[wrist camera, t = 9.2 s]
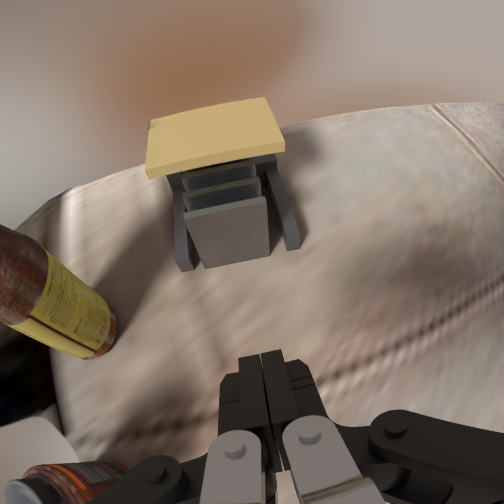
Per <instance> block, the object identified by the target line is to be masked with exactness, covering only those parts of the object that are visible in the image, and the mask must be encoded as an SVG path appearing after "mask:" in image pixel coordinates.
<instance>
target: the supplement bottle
mask: <svg viewBox="0 0 504 504" xmlns="http://www.w3.org/2000/svg"><path fill="white" fill-rule="evenodd" d="M128 472H129V470H127V469H126V468H124V467H123V466H121V465H119V464H117V463H114V462H111V461H91V462H82V463H66V464H65V463H64V464H46V465H45V464H43V465H37V466H34V467H31V468H29V469H28V470H27V471H26V472H25V474H24V475H23V478H22V479H16V480H10V481H9V482H7V484H6V485H5V487H4V492H3V495H4V503H5V504H85V503H87V502H88V501H89V500H91V499H92V498H94V497H95V496H97V495H98V494H99V493H101V492H102V491H104V490H105V489H106V488H108V487H109V486H110V485H112V484H113V483H114V482H116V481H117V480H118V479H120V478H121V477H122V476H124V475H125V474H126V473H128Z"/></svg>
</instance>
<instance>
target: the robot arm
mask: <svg viewBox="0 0 504 504" xmlns="http://www.w3.org/2000/svg"><path fill="white" fill-rule="evenodd" d="M261 359H262V363H261ZM261 359H260V356H259V354H256V355H251V356H246V357H241V358H239V359H238V362H239V372H236V373H231V374H226V376H225V377H224V379H223V380H222V382H221V384H220V396H219V404H220V405H219V419H218V437H217V438H215V439H214V440H213V442H212V443H211V444H210V446H209V449H208V452H207V453H206V454H205V455H203V456H201V457H198V458H196V459H193V460H190V461H187V462H184V463H181V464H179V462H178V461H177V460H176V459H174V458H172V457H170V456H165V455H158V456H153V457H149V458H147V459H145V460H143V461H142V462H141V463H139V464H138V465H137V466H135V467H134V468H133V469H132V470H130V471H129V472H128V473H126V474H125V475H124V476H122V477H121V478H120V479H118V480H117V481H116V482H114V483H113V484H112V485H110V486H109V487H108V488H106V489H105V490H104V491H102V492H101V493H99V494H98V495H97V496H95V497H94V498H92V499H91V500H89V501H88V502H87V503H85V504H278V493H277V481H276V475H275V473H277V472H282V465H281V459H282V463H283V466H284V470H285V471H287V470H290V471H291V475H292V479H293V483H294V487H295V490H296V494H297V497H298V500H299V503H300V504H386V503H385V502H388V503H390V504H504V433H500V432H495V431H489V430H484V429H479V428H475V427H470V426H465V425H461V424H457V423H452V422H448V421H444V420H440V419H436V418H432V417H429V416H425V415H421V414H418V413H414V412H410V411H407V410H391V411H387V412H385V413H382V414H380V415H379V416H377V417H376V418H375V419H374V420H373V421H372V423H371V425H370V426H362V427H345V426H341V425H338V424H336V423H334V422H333V421H332V420H330V418H329V417H328V415H327V413H326V411H325V408H324V406H323V403H322V401H321V398H320V395H319V393H318V390H317V388H316V385H315V383H314V380H313V377H312V375H311V372H310V370H309V367H308V366H307V365H306V364H305V363H303V362H302V361H301V360H299V359H297V360H293V361H289V362H284V358H283V355H282V351H281V349H279V350H274V351H270V352H265V353H261ZM262 366H263V367H262ZM279 452H280V453H279ZM280 455H281V459H280Z"/></svg>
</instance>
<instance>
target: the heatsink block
mask: <svg viewBox="0 0 504 504" xmlns="http://www.w3.org/2000/svg"><path fill="white" fill-rule="evenodd" d="M181 179H182V182H183V185H184V188H185V191H186V192H182V198H183V201H184V203H185V206H186V209H187V211H188V212H186V213H183V215H184V221H185V223H186V226H187V228H188V231H189V233H190V235H191V238H192V240H193V242H194V245H195V247H196V250H197V252H198V254H199V257H200V259H201V261H202V263H203V266H204V268H205V269H209V268H214V267H219V266H223V265H228V264H233V263H238V262H243V261H248V260H253V259H257V258H262V257H267V256H270V248H269V232H268V217H267V202H266V199H265V196H263V197H262V194H261V183H260V179H259V177H256V169H255V162H254V159H253V160H251V157H249V158H243V159H238V160H233V161H228V162H223V163H218V164H213V165H208V166H203V167H199V168H194V169H190V170H185V171H184V174H181Z"/></svg>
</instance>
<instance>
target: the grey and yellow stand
mask: <svg viewBox="0 0 504 504" xmlns="http://www.w3.org/2000/svg"><path fill="white" fill-rule="evenodd" d="M148 129H149V137H148V144H147V154H146V163H145V172H146V174H147V176H148V178H149V179H152V178H156V177H160V176H164V175H166V176H167V179H168V182H169V184H170V187H171V189H172V192H173V219H174V244H175V261H176V263H177V265H178V267H179V268H180V270H181V272H185V271H190V270H194V262H193V251H192V240H191V235H190V233H189V231H188V228H187V226H186V223H185V221H184V215H183V213H186V212H188V211H187V209H186V206H185V203H184V201H183V198H182V192H186V191H185V188H184V185H183V182H182V179H181V174H184V171H185V170H190V169H194V168H199V167H203V166H208V165H213V164H218V163H223V162H228V161H233V160H238V159H243V158H249V157H251V160H253V159H254V162H255V169H256V177H259V179H260V183H261V184H263V183H267V186H268V189H269V192H270V195H271V199H272V202H273V205H274V209H275V212H276V215H277V219H278V222H279V225H280V229H281V232H282V236H283V239H284V243H285V246H286V249H287V251H290V250H295V249H300V239H301V235H300V232H299V229H298V226H297V223H296V220H295V217H294V214H293V211H292V209H291V206H290V203H289V200H288V197H287V194H286V191H285V188H284V186H283V183H282V180H281V177H280V174H279V172H278V169H277V160H276V157H275V154H274V153H278V152H285V140H284V138H283V136H282V133H281V131H280V129H279V127H278V124H277V122H276V120H275V118H274V116H273V114H272V111H271V110H270V107H269V105H268V103H267V101H266V99H265V97H260V98H253V99H247V100H241V101H235V102H229V103H224V104H218V105H214V106H208V107H204V108H199V109H194V110H190V111H186V112H181V113H177V114H173V115H169V116H165V117H161V118H157V119H154V120H150V121H149V128H148Z"/></svg>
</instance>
